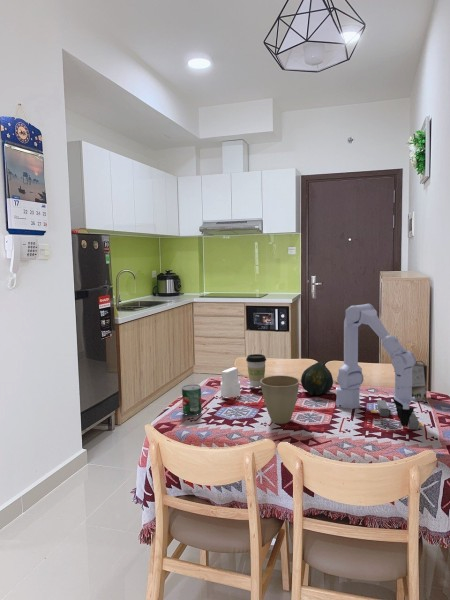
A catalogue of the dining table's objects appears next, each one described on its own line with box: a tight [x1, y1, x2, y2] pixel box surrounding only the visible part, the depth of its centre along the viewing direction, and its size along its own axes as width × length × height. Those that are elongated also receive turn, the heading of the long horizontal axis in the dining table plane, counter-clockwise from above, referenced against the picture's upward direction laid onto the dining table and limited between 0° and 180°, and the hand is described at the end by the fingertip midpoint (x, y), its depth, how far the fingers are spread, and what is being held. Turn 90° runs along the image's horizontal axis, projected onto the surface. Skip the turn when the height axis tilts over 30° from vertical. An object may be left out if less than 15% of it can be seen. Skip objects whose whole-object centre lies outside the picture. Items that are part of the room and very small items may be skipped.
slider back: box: [376, 399, 389, 417], centre depth 180 cm, size 3×10×3 cm, turn 167°
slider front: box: [407, 411, 420, 430], centre depth 166 cm, size 3×10×3 cm, turn 167°
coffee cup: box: [245, 353, 267, 387], centre depth 224 cm, size 10×10×15 cm
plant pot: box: [260, 374, 300, 425], centre depth 177 cm, size 15×15×16 cm
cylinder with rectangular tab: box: [220, 366, 241, 398], centre depth 211 cm, size 9×9×12 cm
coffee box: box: [412, 360, 428, 402], centre depth 195 cm, size 9×6×16 cm
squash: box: [300, 361, 334, 396], centre depth 211 cm, size 14×15×15 cm
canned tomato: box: [181, 384, 203, 416], centre depth 190 cm, size 8×8×11 cm
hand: (402, 421), depth 167 cm, fingers open, 7 cm apart
